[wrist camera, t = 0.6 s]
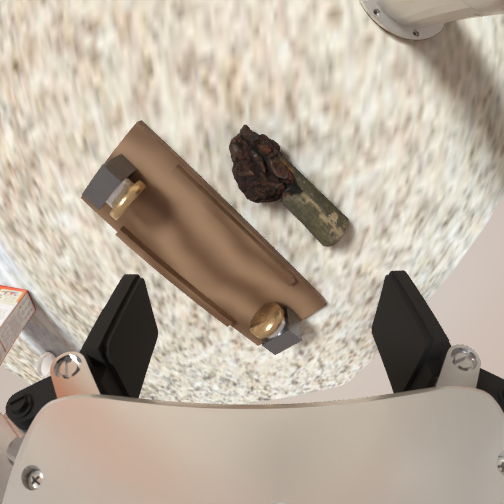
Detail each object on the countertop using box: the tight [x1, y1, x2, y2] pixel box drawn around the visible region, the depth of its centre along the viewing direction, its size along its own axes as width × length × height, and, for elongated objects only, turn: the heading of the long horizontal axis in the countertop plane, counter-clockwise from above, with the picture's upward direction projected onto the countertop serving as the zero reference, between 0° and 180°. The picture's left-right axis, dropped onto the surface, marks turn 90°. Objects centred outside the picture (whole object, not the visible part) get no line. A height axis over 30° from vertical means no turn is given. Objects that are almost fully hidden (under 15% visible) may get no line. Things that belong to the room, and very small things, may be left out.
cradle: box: [81, 120, 326, 346], centre depth 42 cm, size 14×37×3 cm, turn 43°
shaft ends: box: [82, 154, 302, 355], centre depth 40 cm, size 6×35×6 cm, turn 43°
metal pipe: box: [229, 125, 349, 246], centre depth 36 cm, size 18×7×6 cm, turn 46°
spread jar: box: [37, 352, 56, 379], centre depth 58 cm, size 12×11×12 cm
